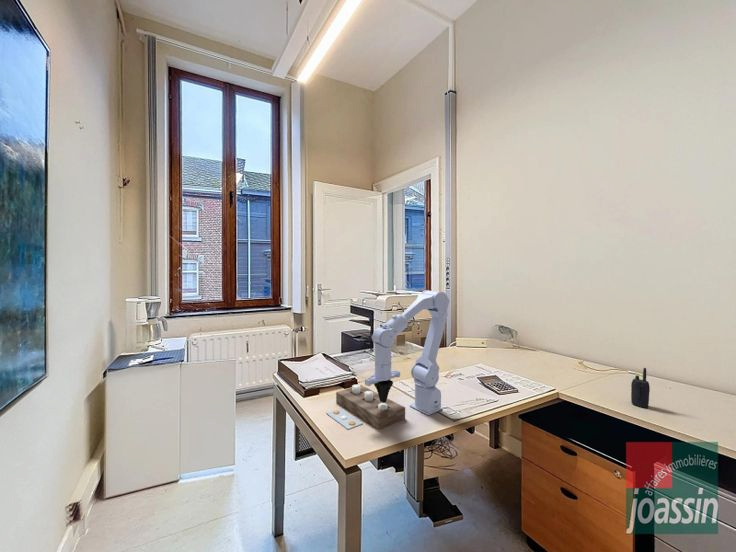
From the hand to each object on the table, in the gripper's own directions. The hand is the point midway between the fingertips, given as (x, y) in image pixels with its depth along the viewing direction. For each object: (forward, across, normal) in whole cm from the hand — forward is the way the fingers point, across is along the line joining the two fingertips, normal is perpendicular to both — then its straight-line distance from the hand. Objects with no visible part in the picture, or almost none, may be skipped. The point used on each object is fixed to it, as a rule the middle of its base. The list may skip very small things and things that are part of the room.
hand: (383, 401), depth 112 cm
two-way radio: (+7, -84, +52) cm, 99 cm away
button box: (+6, 0, -8) cm, 10 cm away
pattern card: (+6, +11, -8) cm, 15 cm away
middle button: (+4, 0, -8) cm, 9 cm away
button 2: (+5, 0, 0) cm, 5 cm away
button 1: (+4, 0, -16) cm, 16 cm away
